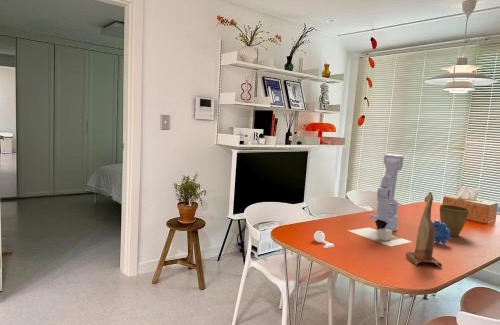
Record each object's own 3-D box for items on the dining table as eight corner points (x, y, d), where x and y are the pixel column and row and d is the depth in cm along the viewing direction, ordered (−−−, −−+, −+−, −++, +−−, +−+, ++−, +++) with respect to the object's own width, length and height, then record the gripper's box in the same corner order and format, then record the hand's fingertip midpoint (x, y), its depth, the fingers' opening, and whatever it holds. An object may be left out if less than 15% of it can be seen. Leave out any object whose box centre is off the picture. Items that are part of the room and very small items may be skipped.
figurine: (319, 228, 179) (337, 236, 170) (318, 238, 180) (336, 247, 171) (308, 230, 175) (326, 239, 165) (307, 241, 176) (324, 250, 166)
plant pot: (433, 233, 202) (436, 206, 201) (440, 229, 213) (443, 203, 212) (462, 240, 192) (466, 212, 191) (468, 235, 203) (472, 208, 202)
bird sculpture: (428, 258, 161) (435, 189, 158) (442, 268, 150) (451, 194, 146) (404, 257, 161) (411, 188, 158) (417, 267, 149) (425, 193, 146)
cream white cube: (385, 240, 183) (386, 231, 183) (377, 238, 187) (378, 228, 187) (391, 239, 186) (392, 230, 185) (383, 236, 190) (384, 227, 189)
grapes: (424, 242, 185) (426, 220, 183) (425, 239, 190) (428, 217, 189) (449, 247, 178) (452, 224, 177) (450, 244, 184) (452, 222, 183)
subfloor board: (368, 228, 208) (368, 227, 208) (412, 242, 184) (412, 241, 184) (347, 231, 198) (347, 230, 198) (390, 247, 175) (390, 246, 175)
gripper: (366, 207, 193) (364, 231, 194) (389, 213, 181) (387, 238, 182) (375, 206, 197) (372, 229, 198) (398, 212, 185) (395, 237, 186)
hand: (380, 234), depth 190 cm, fingers closed
